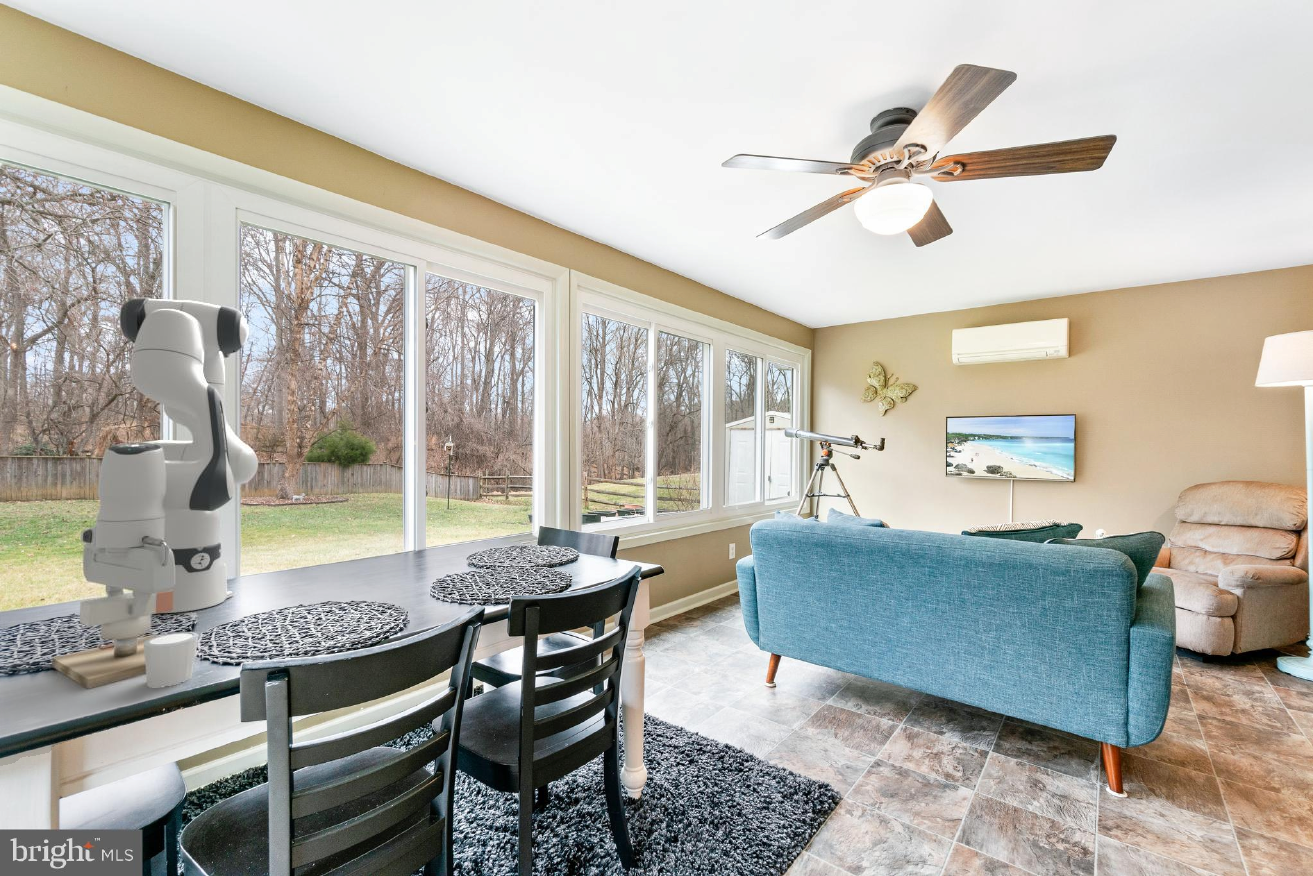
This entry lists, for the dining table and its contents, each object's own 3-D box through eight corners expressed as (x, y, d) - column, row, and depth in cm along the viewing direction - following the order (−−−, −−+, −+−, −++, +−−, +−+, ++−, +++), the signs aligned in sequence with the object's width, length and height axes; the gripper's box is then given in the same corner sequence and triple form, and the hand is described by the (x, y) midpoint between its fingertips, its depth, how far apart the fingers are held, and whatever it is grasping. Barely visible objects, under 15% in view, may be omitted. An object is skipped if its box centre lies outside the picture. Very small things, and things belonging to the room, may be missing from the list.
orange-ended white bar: (76, 638, 94) (77, 600, 94) (158, 621, 104) (160, 586, 104) (90, 646, 91) (92, 606, 91) (174, 627, 101) (176, 591, 101)
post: (110, 655, 97) (111, 635, 97) (132, 650, 100) (133, 630, 100) (117, 659, 95) (118, 638, 96) (140, 653, 98) (140, 633, 98)
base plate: (51, 666, 95) (52, 656, 95) (154, 642, 107) (155, 633, 107) (88, 688, 88) (88, 678, 88) (194, 659, 100) (195, 650, 100)
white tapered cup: (131, 691, 87) (133, 647, 87) (157, 673, 94) (159, 632, 94) (182, 687, 89) (184, 644, 89) (205, 670, 96) (206, 630, 96)
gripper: (188, 537, 97) (185, 615, 97) (119, 527, 104) (116, 600, 104) (145, 542, 91) (141, 626, 91) (75, 531, 98) (71, 609, 98)
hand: (127, 612), depth 98 cm, fingers closed on orange-ended white bar, 4 cm apart
